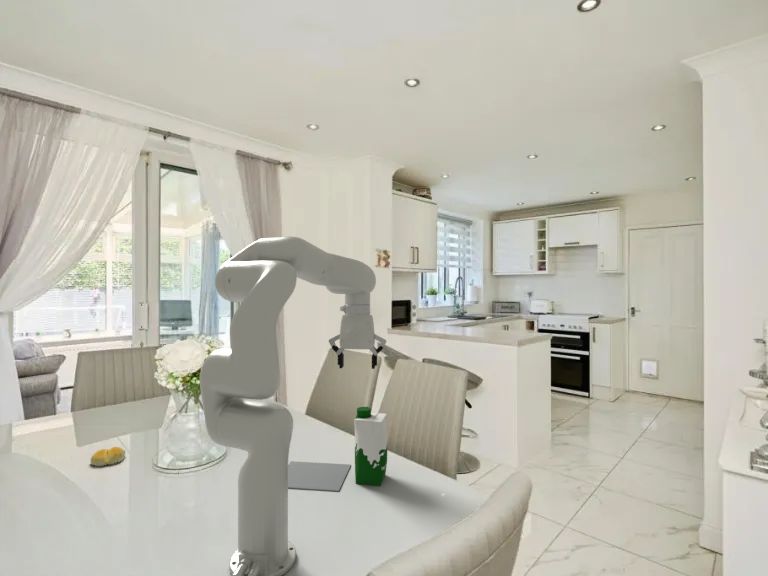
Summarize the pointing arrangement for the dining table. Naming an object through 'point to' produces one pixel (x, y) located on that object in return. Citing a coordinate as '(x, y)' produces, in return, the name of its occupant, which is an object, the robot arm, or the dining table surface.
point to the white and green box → (370, 446)
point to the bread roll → (108, 456)
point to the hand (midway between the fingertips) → (357, 367)
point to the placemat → (316, 476)
